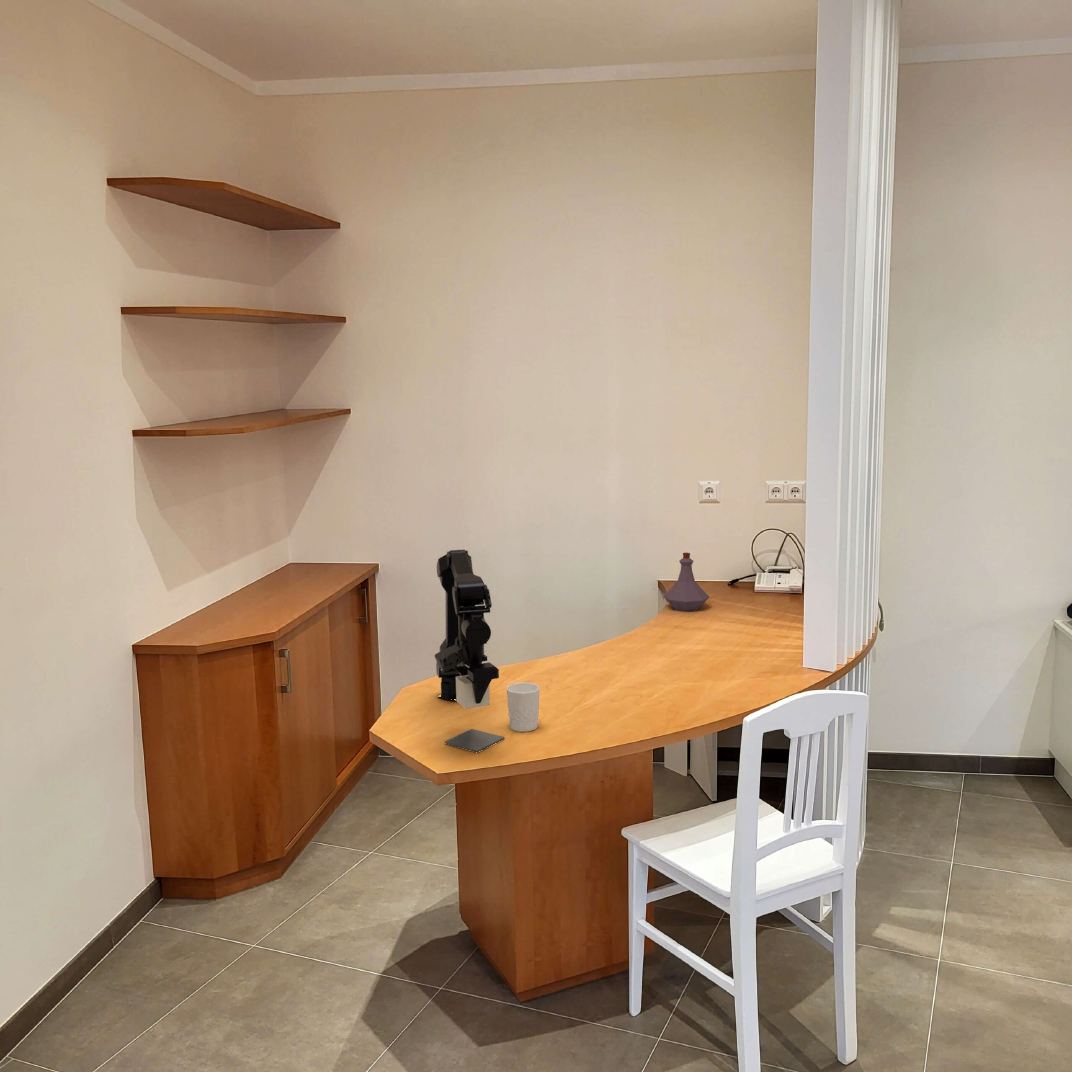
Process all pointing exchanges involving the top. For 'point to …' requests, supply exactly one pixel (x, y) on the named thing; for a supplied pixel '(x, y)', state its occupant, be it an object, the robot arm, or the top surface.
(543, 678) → the top surface
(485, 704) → the cube
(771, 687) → the top surface
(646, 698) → the top surface
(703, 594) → the flask
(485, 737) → the coaster
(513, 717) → the white cup
